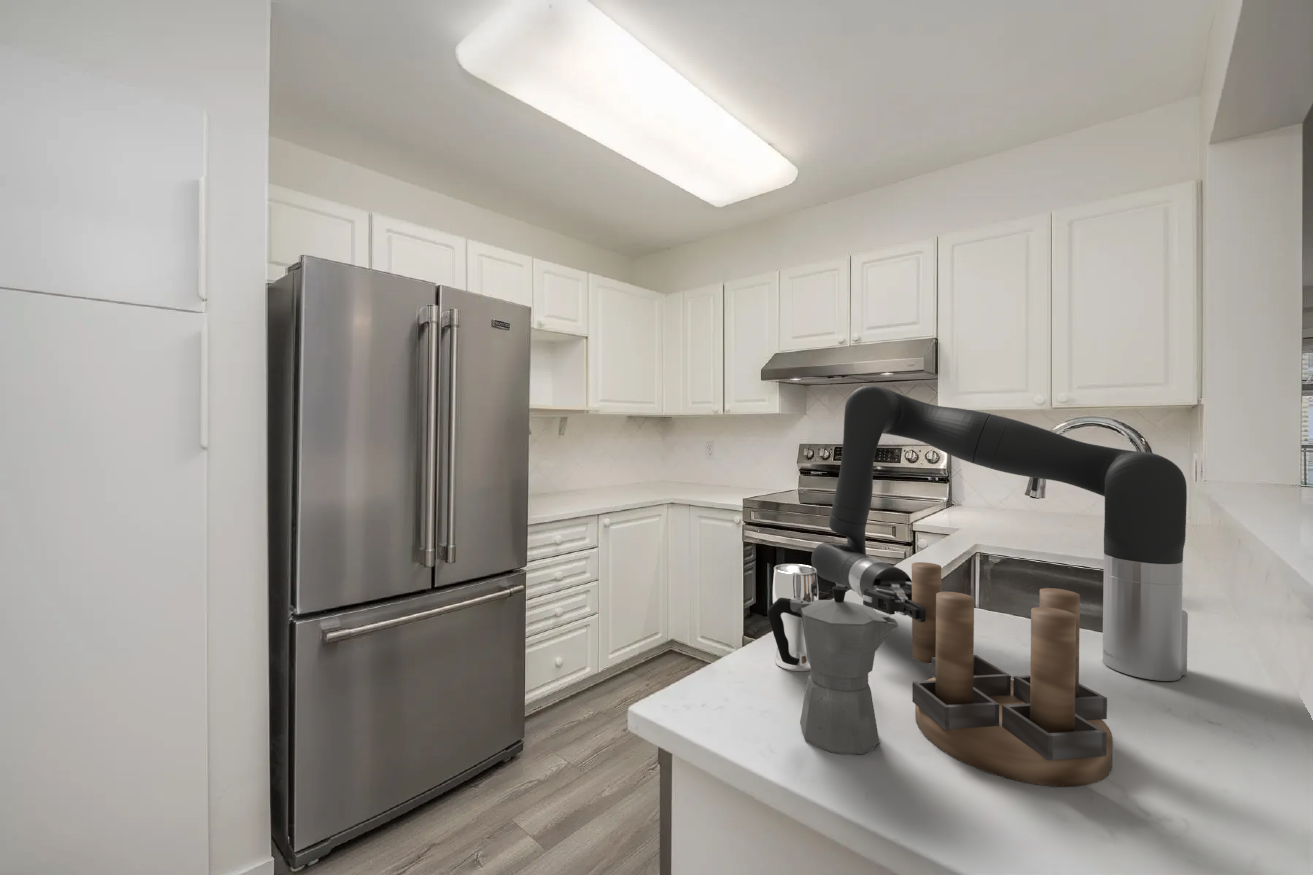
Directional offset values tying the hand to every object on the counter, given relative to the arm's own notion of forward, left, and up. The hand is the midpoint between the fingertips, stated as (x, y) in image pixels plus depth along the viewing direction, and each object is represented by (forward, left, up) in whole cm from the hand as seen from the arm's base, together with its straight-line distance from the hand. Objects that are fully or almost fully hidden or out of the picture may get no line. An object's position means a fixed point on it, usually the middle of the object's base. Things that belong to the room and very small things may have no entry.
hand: (937, 614), depth 83 cm
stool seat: (0, +14, -10) cm, 17 cm away
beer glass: (+18, -9, -10) cm, 23 cm away
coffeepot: (+21, +11, -10) cm, 26 cm away
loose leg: (0, -3, -8) cm, 8 cm away
